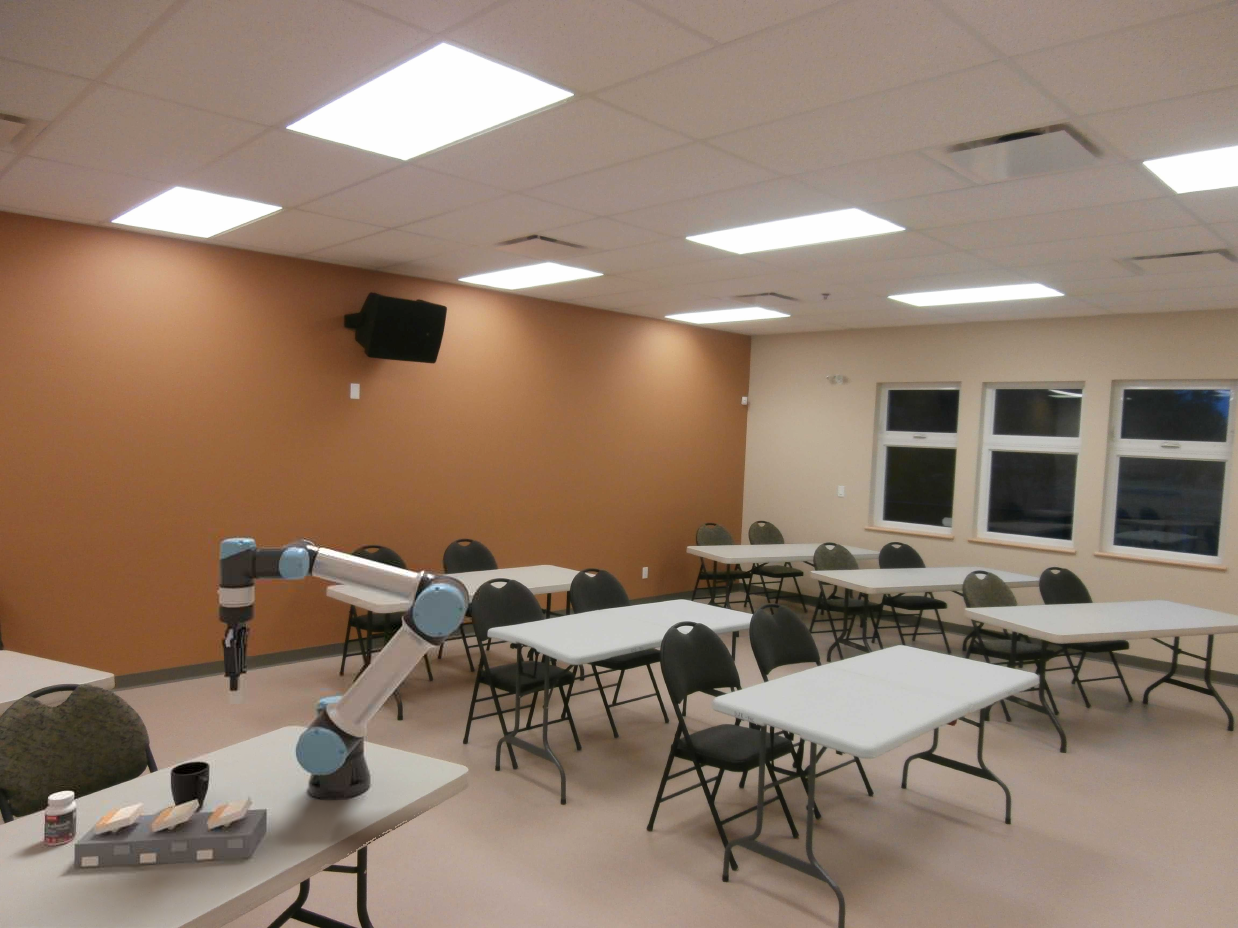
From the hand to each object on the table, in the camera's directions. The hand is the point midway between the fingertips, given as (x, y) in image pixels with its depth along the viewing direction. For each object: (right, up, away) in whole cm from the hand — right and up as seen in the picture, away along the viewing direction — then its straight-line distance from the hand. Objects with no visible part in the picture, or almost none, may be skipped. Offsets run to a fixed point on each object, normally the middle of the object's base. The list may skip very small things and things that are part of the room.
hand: (235, 702), depth 186 cm
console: (-5, -27, -16) cm, 32 cm away
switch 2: (-4, -21, -16) cm, 27 cm away
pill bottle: (-32, -26, -14) cm, 43 cm away
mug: (-11, -26, +2) cm, 29 cm away
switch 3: (+7, -21, -15) cm, 26 cm away
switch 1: (-15, -21, -18) cm, 31 cm away
